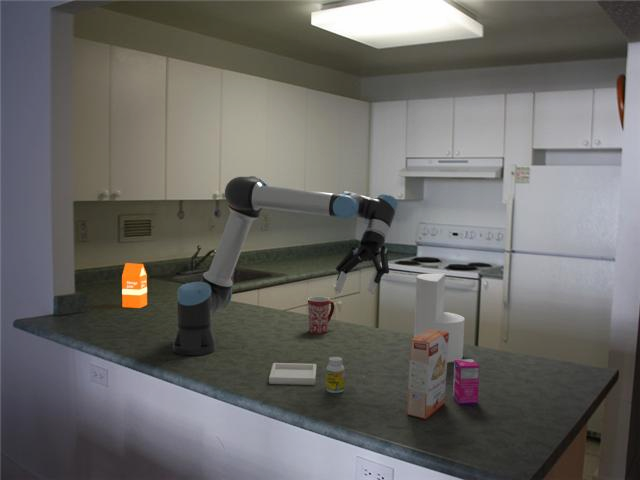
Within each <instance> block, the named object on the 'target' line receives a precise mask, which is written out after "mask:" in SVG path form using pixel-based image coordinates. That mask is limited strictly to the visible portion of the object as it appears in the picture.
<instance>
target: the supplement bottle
mask: <svg viewBox="0 0 640 480" xmlns="http://www.w3.org/2000/svg"><path fill="white" fill-rule="evenodd" d="M345 371H346V369H345V366H344V365H343V358H342V357H339V356H331V357H330V356H329V358H328V365H327V366H326V372H325V373H326V374H325V375H326V379H325V381H326V384H325V386H326V388H325V390H326V391H327V392H329V393H331V394H332V393H333V394H340V393H343V392H344V391H345V376H346V375H345V373H346V372H345Z"/></svg>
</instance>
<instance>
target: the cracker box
mask: <svg viewBox="0 0 640 480" xmlns="http://www.w3.org/2000/svg"><path fill="white" fill-rule="evenodd" d="M448 340H449V333H448V332H445V331H439V330H433V329H430V330H428V331H426V332H424V333H423V334H421V335H419V336H417V337H415V338H414V337H413V338H411V339H410V346H409V347H410V351H409V366H408V367H409V368H408V370H409V371H408V388H407V389H408V390H407V404H406V405H407V407H406V415H408V416H412V417H415V418H419V419H423V420H427V419H428V418H429V417H430V416H431V415H433V414H434V413H435V412H437V411H438V409H440V408H441V407H442V406H443V405H445V404H446V403H445V402H446V384H447V371H448V362H447V356H448Z"/></svg>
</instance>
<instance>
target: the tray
mask: <svg viewBox="0 0 640 480" xmlns="http://www.w3.org/2000/svg"><path fill="white" fill-rule="evenodd" d="M270 370H271V371H270V373H269V377H268V384H270V385H274V384H275V385H303V386H304V385H305V386H309V385H310V386H316V379H317V364H316V363H300V362H299V363H297V362H296V363H292V362H291V363H290V362H289V363H287V362H273V363H272V366H271V369H270Z"/></svg>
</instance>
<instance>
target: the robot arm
mask: <svg viewBox="0 0 640 480" xmlns="http://www.w3.org/2000/svg"><path fill="white" fill-rule="evenodd" d="M224 198H225V201H226V202H227V204H228V209H229V212H230V214H229V216H228V219H227V221H226V224H225V228H224V230H223V231H222V235H221V238H220V240H219V243H218V246H217V247H216V248H217V249H216V251H215V253H214V257H213V259H212V262H211V265H210V267H209V269H208V271H205V272H203V274H202V277H201V280H200V281H192V282H186V283H184V284H182V285H180V286H179V287H178V289H177V297H176V302H177V303H176V304H177V305H176V306H177V330H176V332H175V336H174V340H173V343H172V352H174V353H175V354H177V355H181V356H201V355H207V354H211V353H214V352H215V351H216V349H217V342H216V339H215V335H214V333H213V330H212V315H213V314H215V313H218V312H220V311H222V310H223V309H225V308H226V307H227V306H228V305H229V304H230V303H231V301H232V299H233V298H232V297H233V290H232V288H233V285H234V283H233V280H232V276H233V273H234V271H235V269H236V266H237V264H238V260H239V258H240V255H241V252H242V250H243V247H244V245H245V243H246V240H247V238H248V235H249V232H250V229H251V227H252V224H253V222H254V221H255V220H257V219H259V218H260V215H261V212H262V211H263V210H262V209H267V210H275V211H276V210H277V211H284V212H293V213H300V214H301V213H302V214H312V215H318V216H326V217H333V218H339V219H340V220H341V219H342V220H350V219H352V218H354V217H357V218H362V219H365V220H368V221H367V224H366V226H365V229H364V232H363V234H362V237H361V239H360V246H359V247H355V246H352V247H351V249H350V250H349V251H348V253H347V254H346V255H345V257H344V258H343V259H342V260H341V262H340V263H339V264H338V265H337V266H336V267H335V270H336V271H337V272H338V276H337V278H336V284H335V286H334V288H333V289H335V290H336V291H337V292H338V293H341V294H342V291H343V288H344V285H345V283H346V280H347V278H348V275H347V274H348V273H350V272H351V271H352V270H353V269H354V268H355V267H356V266H357V265H358V264H361V263H363V262H367V261H368V262H372V263H373V265H374V267H375V271H373V273H372V276H371V279H370V282H369V284H368V288H367V290H368V292H370V293H371V294H372V295H374V294H375V292H376V289H377V287H378V284H379V283H381V281H382V277H383V275H385V274H386V275H388V274H390V269H389V268H390V265H389V260H388V259H389V258H388V254H389V249H388V248H387V247H386V246H385V241H386V238H387V236H388V233H389V231H390V228H391V225H392V223H393V221H394V218H395V216H396V213H397V212H396V211H397V208H398V201H397V199H396V198H395V197H394V196H392V195H391V194H388V193H386V194H383V193H382V194H381V193H380V194H379V195H378V196H377V198H373V197H369V196H367V195H366V196H365V195H361V194H359V193H355V192H353V191H352V192H351V191H348V190H345V191H342V193H340V194H339V193H334V192H333V193H331V192H325V191H324V192H321V191H314V190H313V191H312V190H305V189H295V188H287V187H280V186H279V187H278V186H270V185H269V184H268V183H267V182H266V181H265V180H264V179H263V178H261V177H257V176H254V175H250V176H237V177H234V178H232V179H231V180H229V182H228V183H227V184H226V186H225V189H224ZM379 254H380V255H379ZM378 255H379V256H380V260H379V258H378ZM380 262H381V263H380Z"/></svg>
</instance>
